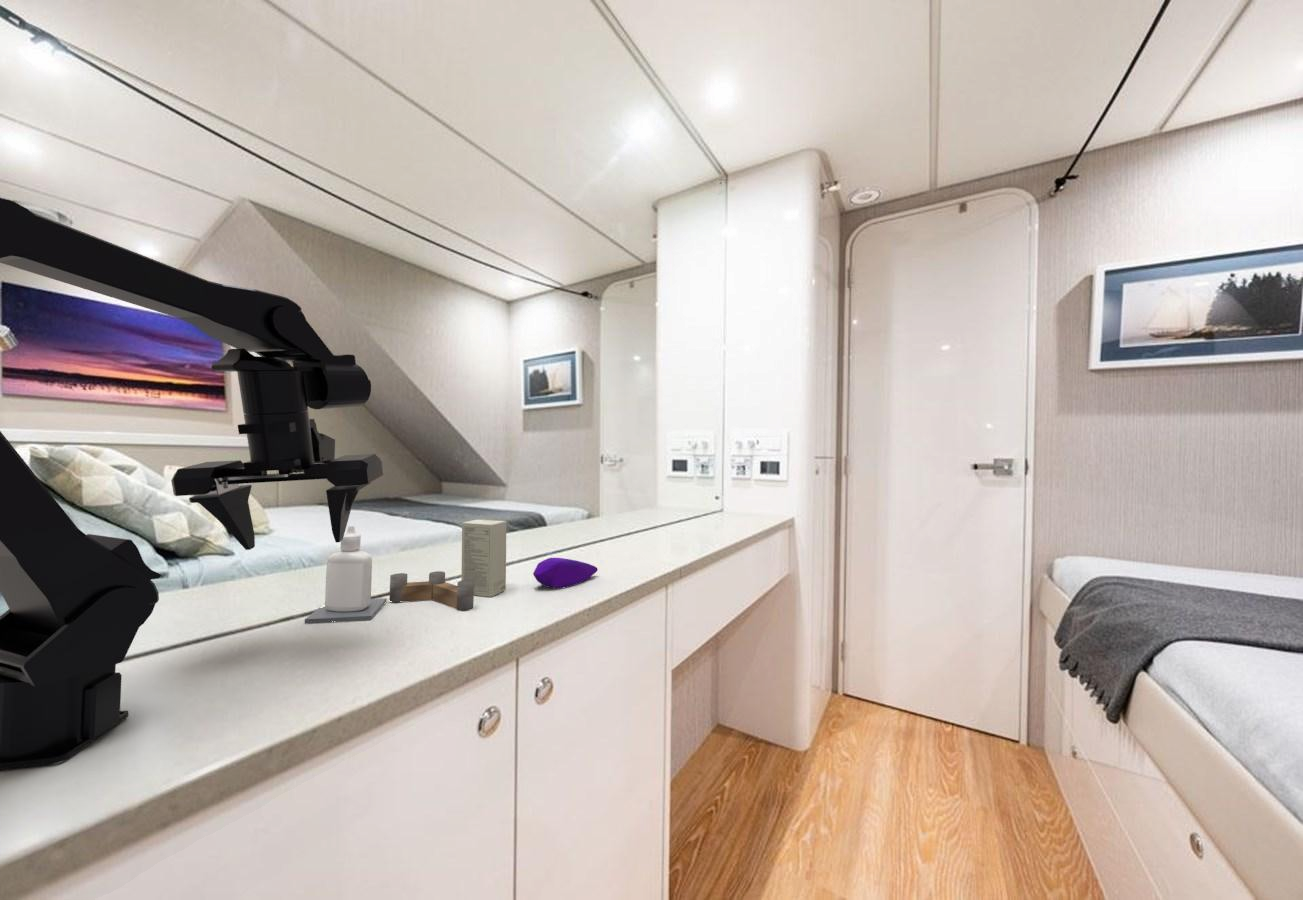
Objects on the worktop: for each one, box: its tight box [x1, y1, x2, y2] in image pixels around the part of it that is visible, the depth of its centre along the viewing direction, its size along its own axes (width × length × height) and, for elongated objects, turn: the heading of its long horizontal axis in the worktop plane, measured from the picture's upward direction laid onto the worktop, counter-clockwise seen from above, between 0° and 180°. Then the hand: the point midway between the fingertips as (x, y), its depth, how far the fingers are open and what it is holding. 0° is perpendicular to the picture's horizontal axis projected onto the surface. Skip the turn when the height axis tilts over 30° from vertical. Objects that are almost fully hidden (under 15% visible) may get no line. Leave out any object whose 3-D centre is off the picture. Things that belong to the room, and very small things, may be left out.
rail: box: [389, 570, 475, 612], centre depth 73 cm, size 13×8×4 cm, turn 106°
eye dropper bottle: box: [324, 525, 373, 612], centre depth 68 cm, size 4×6×12 cm
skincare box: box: [460, 518, 507, 598], centre depth 80 cm, size 6×4×12 cm
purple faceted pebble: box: [532, 557, 598, 589], centre depth 87 cm, size 5×5×15 cm
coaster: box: [304, 597, 388, 624], centre depth 68 cm, size 8×8×1 cm
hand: (295, 544), depth 55 cm, fingers open, 9 cm apart
